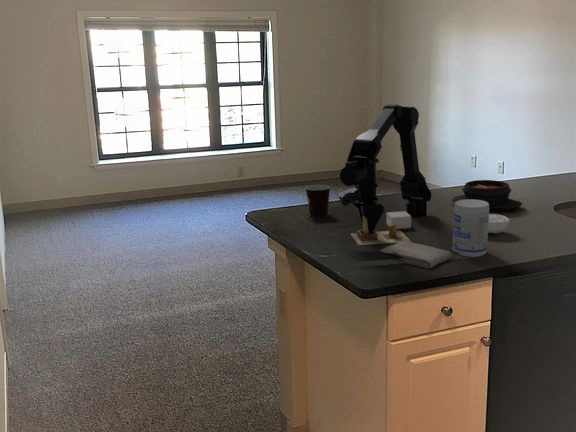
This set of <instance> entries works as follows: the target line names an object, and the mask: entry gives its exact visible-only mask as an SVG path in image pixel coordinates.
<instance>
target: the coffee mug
mask: <svg viewBox="0 0 576 432" xmlns="http://www.w3.org/2000/svg"><path fill="white" fill-rule="evenodd" d="M330 192H331V191H330V186H329V185H326V184H313V185H308V186H306V187H305V193H306V198H307V204H308V212H309V216H310V217H314V218H315V217H316V218H317V217H318V218H321V217H320V216H322V217H325V216H328V211H329V201H330V200H329V199H330Z"/></svg>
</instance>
